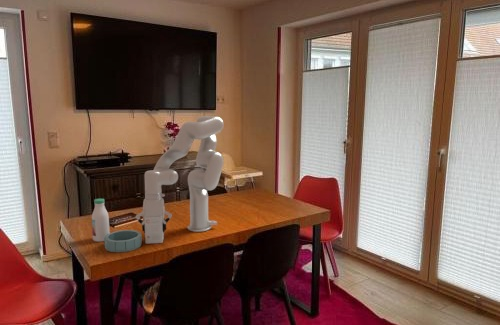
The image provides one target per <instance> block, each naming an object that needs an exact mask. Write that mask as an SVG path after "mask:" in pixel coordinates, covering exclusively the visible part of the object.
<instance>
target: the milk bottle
mask: <svg viewBox="0 0 500 325" xmlns="http://www.w3.org/2000/svg"><path fill="white" fill-rule="evenodd" d="M93 202H94V209H93V211H92V214H91V229H92V230H91V231H92V241H94V242H96V243H97V242H99V243H101V242H104V238H105V236H106V235H107V234H109V233H111V232H110V231H111V230H110V219H109V218H110V217H109V212H108V211H107V209H106V206H105V199H104V198H95V199H94V201H93Z"/></svg>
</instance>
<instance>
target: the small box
mask: <svg viewBox="0 0 500 325" xmlns="http://www.w3.org/2000/svg"><path fill="white" fill-rule="evenodd" d="M144 222H145V233H144V239H145V241H144V243H145V244H163V242H164V239H165V235H164V234H165V232H163V222H162V216H157V217H144Z"/></svg>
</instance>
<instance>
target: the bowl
mask: <svg viewBox="0 0 500 325" xmlns="http://www.w3.org/2000/svg"><path fill="white" fill-rule="evenodd" d="M142 237H143V236H142V232H140V231H139V230H135V229H121V230H116V231H112V232H110V233H109V234H107V235H106V236H105V238H104V241H103V243H104V248H105V250H106V251H108V252H111V253H127V252H132V251H134V250H135V251H136V250H137V249H139V248H140V247H142V243H143V242H142V241H143V240H142V239H143V238H142Z"/></svg>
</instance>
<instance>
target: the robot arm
mask: <svg viewBox="0 0 500 325" xmlns="http://www.w3.org/2000/svg"><path fill="white" fill-rule="evenodd" d="M224 125H225V123H224V120H223V119H222V118H221V117H220V116H217V115H216V116H215V115H214V116H213V115H201V116H199V117H197V119H196V120H195V121H187V122H184V123H183V124H182V126H181V127H180V129H179V131H178V133H177V135H176V137H175V139H174V141H173V143H172V145H171V146H170V148H168V149H167V150H166V151H165V152H164V153H163V154H162V155H161V156H160V157H159V158H158V160H157V161H156V164H155V166H154V167H153V170H147V171H145V172H144V199H143V202H142V203H143V204H142V211H141V212H139V213H138V214H136V215H135V219H136V220H137V221H138V223H140V224H141V225H142V226H141V227H142V232H143V234H145V222H144V217H157V216H162V222H163V232H164V233H165V232H166V230H167V223H168V222H169V221H170V220H171V218H172V216H173V214H172V213H170V212H169V211H167V210H165V207H166V206H165V200H164V198H163V197H166V194H165V193H162V186H163V185H164V186H170V185H175V184H176V183H177V182H178V180H179V174H178V171H176V170H174V169H171V168H170V167H171V165H172V164H173V163H174V162H176V161H177V160H179V159H181V158H184V157H185V156H187V155H188V153H189V152H190V149H191V148H192V145H193V143H194V141H195V140H200V144H199V147H198V152H197V153H196V154H197V155H196V157H195V163H196V165H197V167H200V168H203V170H202V169H193V170H191V171H190V172H189V173H188V175H187V184H188V190H189V217H190V218H189V219H190V220H189V221H190V224H188V226H187V230H188V231H190V232H194V233H195V232H196V233H200V232H206V231H209V230H211V229H212V226H217V225H218V221H217V220H214V219H213V220H210V219H209V194H208V191H213V190H215V189H216V188H217V186H218V184H219V181H220V178H221V174H222V170H223V167H224V157H223V155H222V153H220V152H219V151H216V149H217V145H218V144H217V143H218V139H217V136H216V135H217V134H220V133H221V131H222V130H223V129H224V127H225V126H224ZM204 169H205V170H204ZM166 216H167V218H165V217H166ZM141 217H142V218H141Z"/></svg>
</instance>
